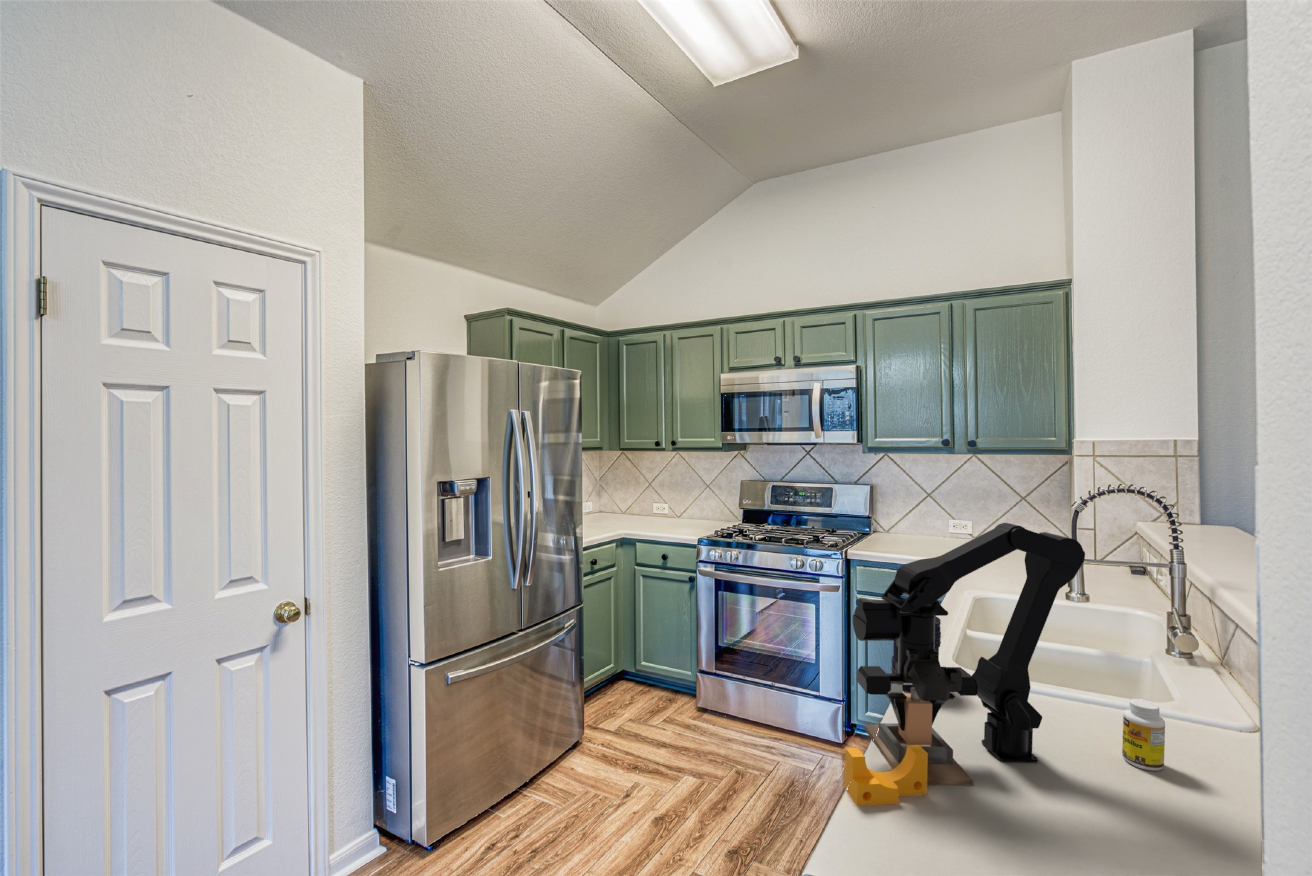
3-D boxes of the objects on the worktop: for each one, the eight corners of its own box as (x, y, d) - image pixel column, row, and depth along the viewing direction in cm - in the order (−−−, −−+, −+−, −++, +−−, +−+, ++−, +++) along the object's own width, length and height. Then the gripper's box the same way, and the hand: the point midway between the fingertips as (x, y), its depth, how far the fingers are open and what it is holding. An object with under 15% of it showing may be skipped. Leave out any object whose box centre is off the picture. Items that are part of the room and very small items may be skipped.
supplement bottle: (1113, 754, 107) (1115, 696, 107) (1145, 754, 107) (1146, 696, 107) (1140, 772, 102) (1141, 711, 101) (1172, 772, 102) (1174, 710, 102)
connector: (921, 733, 108) (922, 684, 108) (931, 744, 104) (932, 694, 104) (898, 732, 108) (899, 684, 108) (907, 744, 104) (908, 693, 104)
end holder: (922, 729, 115) (923, 712, 115) (972, 784, 97) (973, 764, 97) (864, 728, 115) (864, 711, 115) (903, 784, 97) (903, 764, 97)
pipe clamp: (857, 806, 92) (857, 763, 92) (844, 789, 96) (845, 748, 96) (933, 802, 93) (934, 759, 93) (917, 785, 97) (918, 744, 97)
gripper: (879, 656, 98) (877, 753, 98) (996, 657, 98) (994, 755, 98) (856, 633, 109) (854, 720, 109) (961, 634, 109) (959, 721, 109)
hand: (914, 729), depth 106 cm, fingers closed on connector, 4 cm apart
